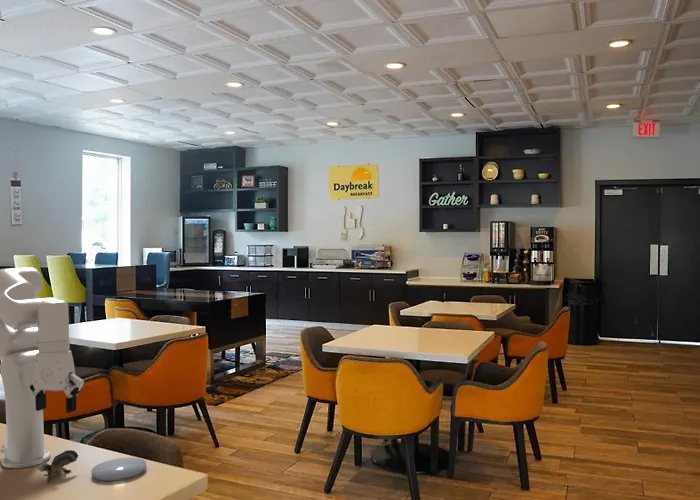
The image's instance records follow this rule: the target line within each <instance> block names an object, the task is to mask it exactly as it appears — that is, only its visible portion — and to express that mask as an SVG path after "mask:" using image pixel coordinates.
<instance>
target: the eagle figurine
mask: <svg viewBox="0 0 700 500" xmlns="http://www.w3.org/2000/svg"><path fill="white" fill-rule="evenodd" d="M78 457H79V454H78V453H77V451H75V450H70V449H67V450H64V451H63V452H62V453H59V454H58V455H55V456H54V457H53V459H52V461H51V464H49V463H48V462H43V463H40V464H38V467H37V469H38V470H39V471H40V472H42V473H43V472H46V473H44V474H43V476H45V477H47V483H48V484H49V483H50V482H51V481H52V480H53V478H54V477H53V476H54V474H55V475H59V476H62V477H64V478H65V479H66V478H67V475H66V473H65V472H67V471H69V472H71V471H72V470H71V469H67V468H66V467H65V466H68V465H70V464H73V463H74V462H76V461H77V459H78Z"/></svg>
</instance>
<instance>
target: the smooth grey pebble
mask: <svg viewBox="0 0 700 500" xmlns="http://www.w3.org/2000/svg"><path fill="white" fill-rule="evenodd" d="M146 469H147V461H146V460H145V459H143V458H139V457H121V458H114V459H110V460H106V461H103V462H101V463H98V464H97V465H95V466H94V467H92V468H91V471H90V472H91V477H92V478H93V479H95V480H98V481H118V480H125V479H128V478H132V477H134V476H137V475H140V474H142V473H143V472H145V471H146Z"/></svg>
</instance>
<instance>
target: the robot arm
mask: <svg viewBox="0 0 700 500" xmlns="http://www.w3.org/2000/svg"><path fill="white" fill-rule="evenodd" d="M43 279H44V278H43V276H42V274H41V272H40V271H39V270H38V269H37V268H34V267H18V268H17V267H11V268H1V269H0V360H1V362H0V376H1V380H2V381H1V382H2V385H3V390H4V401H5V402H4V403H5V420H6V421H5V422H6V423H5V424H6V443H4V444H2V445H1V447H0V454H4V458H2V459H1V466H2V465H3V466H4V468H6V467H7V468H6V469H22V468H29V467H32V466H36V465H41V464H43V463H46V462H47V461H48V460H50V458H51V452H50V451H49V450H47V449H45V434H44V433H45V432H44V426H45V425H44V410H45V409H47V393H45V391H47V392H63V393H64V394H65V395H66V398H65V412H66V413H67V414H70V413H73V412H76V411H77V396H78V395H79V394H80V392H81V391H82V389H83V386H84V383H85V380H84V379H82V378H80V376H78V375H76V369H75V363H74V362H75V361H74V356H73V354H72V350H71V349H70V348H71V347H70V346H71V345H70V324H69V316H70V315H69V304H68V302H67V301H66V300H63V299H58V298H56V297H41V298H37V296H38V295H40V293H41V291H42V290H43V286H44V280H43ZM3 466H2V467H3Z"/></svg>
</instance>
